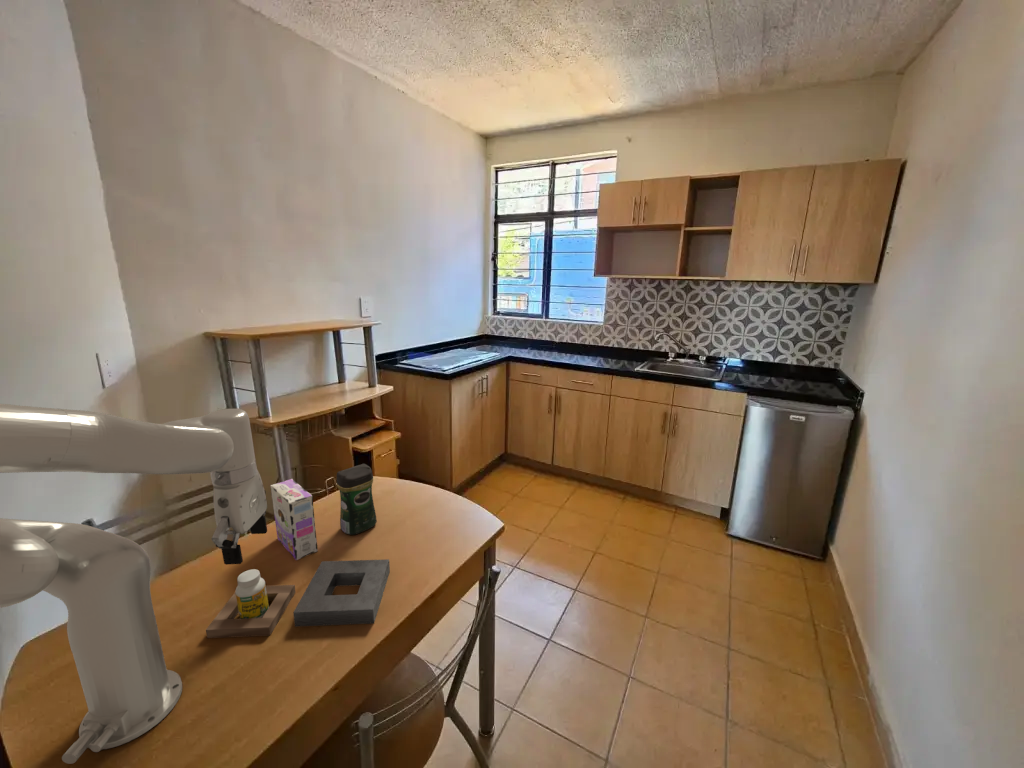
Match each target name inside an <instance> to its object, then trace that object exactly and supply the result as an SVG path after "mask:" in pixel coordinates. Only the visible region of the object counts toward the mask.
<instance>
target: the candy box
mask: <svg viewBox="0 0 1024 768" xmlns="http://www.w3.org/2000/svg"><path fill="white" fill-rule="evenodd" d="M270 491H271V492H270V493H271V494H270V495H271V500H272V509H273V515H274V516H273V517H274V523H275V529H276V537H277V540H278V542H280V544H281V545H282V546H283V547H284V549H286V551H287V552H288V553H289V554H290V555H291V557H293V559H294V560H295V561H298V560H300V559H302V558H305V557H307V556H310V555H312V554H314V553H317V552H318V551H319V550H318V541H317V540H318V539H317V532H316V520H315V519H316V518H315V508H314V501H313V500H314V498H313V495H312V493H310V492H308V491H307V490H306V488H305V489H304V487H302V486H301V485H300V484H299V483H298V482H296V481H295V480H294V479H293V478H291V479H287V480H284V481H281V482H277V483H274V484H270Z"/></svg>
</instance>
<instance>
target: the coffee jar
mask: <svg viewBox="0 0 1024 768" xmlns="http://www.w3.org/2000/svg"><path fill="white" fill-rule="evenodd" d="M373 483H374V475H373V471H372V468H371V467H370V466H369V465H368V464H366V463H362V464H358V465H355V466H352V467H348V468H346V469H344V470H343V469H342V470H340V471H337V472H336V487H337V489H338V490H339V497H340V515H339V517H340V518H339V519H340V521H339V522H340V523H339V524H340V525H339V526H340V529H341V530H342V532H343V533H344V534H346V535H350V536H355V535H357V534H360V533H364V532H365V531H368V530H370V529H371V528H373V527H374V526H376V524H377V522H378V521H377V513H376V509H375V503H374V497H373Z"/></svg>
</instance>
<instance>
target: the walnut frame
mask: <svg viewBox="0 0 1024 768" xmlns="http://www.w3.org/2000/svg"><path fill="white" fill-rule="evenodd" d="M266 591H267V598H268V602H271V604H270V605H269V608H268V610H267V611H266V613H265V614H264V616H263V617H262V618H249V619H240V618H236V617H237V616H238V615H239V611H238V605H237V599H236V593H235V592H234V593H233V594H232V596H230V598H229V600H228V601H227V602H226V603H225V604H224V605H223V607H222V608H221V610H220V611H219V612H218V614H217V615H216V616H215V617H214V618H213V620H212V621H211V622H210V624H209V625H208V626H207V628H206V629H205V632H206V633H205V634H206V638H207V639H221V638H243V637H247V638H248V637H267V636H272V633H273V631H274V630H275V628H276V626H277V625H278V623H279V621H280V620H281V618H282V616H283V615H284V613H285V611H286V610H287V607H288V606H289V604H290V603H291V601H292V600H293V597H294V596H295V595H296V585H295V584H282V585H281V584H278V585H277V584H276V585H266Z"/></svg>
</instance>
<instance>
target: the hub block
mask: <svg viewBox="0 0 1024 768" xmlns="http://www.w3.org/2000/svg"><path fill="white" fill-rule="evenodd" d="M390 566H391V565H390V559H389V558H388V559H361V560H357V559H356V560H329V561H328V560H324V561H321V562H320V564H319V566H318V568H316V571H315V573H314V575H313V576H312V578H311V580H310V581H309V584H308V585H307V587H306V589H305V590H304V593H303V595H302V596H301V597H300V600H299V601H298V603H297V605H296V606H295V609H294V610H293V613H292V614H293V619H294V620H293V622H294V627H296V628H297V627H317V626H318V627H319V626H321V627H322V626H344V625H345V626H346V625H362V624H363V625H365V624H367V625H369V624H375V622H376V618H377V616H378V612H379V609H380V605H381V603H382V599H383V596H384V593H385V590H386V589H385V588H386V586H387V582H388V579H389V575H390V572H391V570H390ZM349 586H350V587H353V586H354V587H355V586H359V588H358V592H357V594H355V593H354V594H334V595H333V593H334V591H335V589H336V587H349ZM383 592H384V593H383Z"/></svg>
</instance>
